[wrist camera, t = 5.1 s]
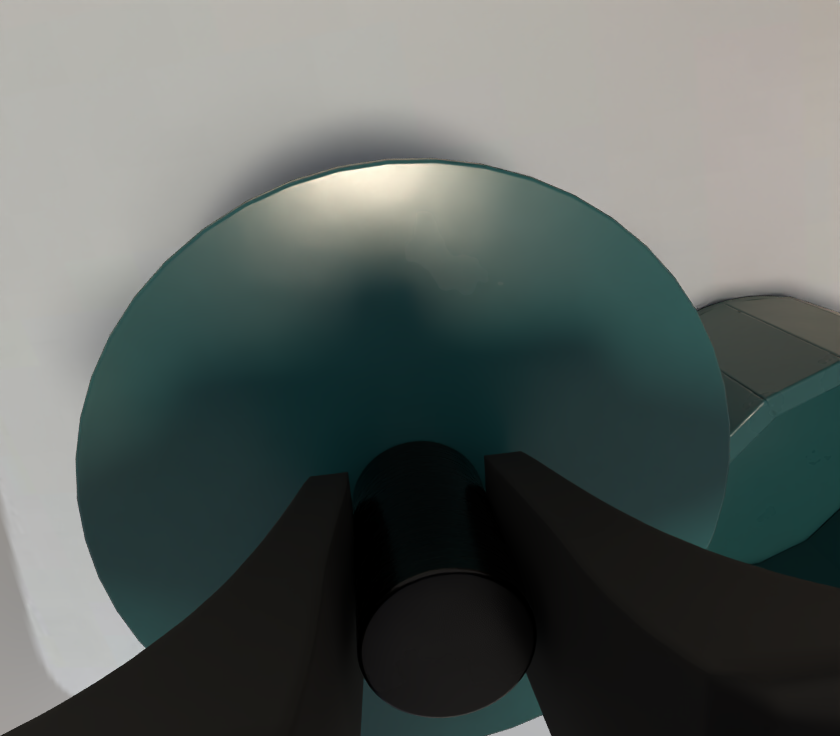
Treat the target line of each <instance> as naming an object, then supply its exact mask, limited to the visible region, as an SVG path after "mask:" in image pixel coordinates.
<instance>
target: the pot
mask: <svg viewBox="0 0 840 736" xmlns="http://www.w3.org/2000/svg"><path fill="white" fill-rule="evenodd" d="M697 312H698V314H699V316H700V319H701V321H702V323H703V325H704V327H705V329H706V332H707V334H708V336H709V338H710V340H711V342H712V345H713V347H714V350H715V353H716V357H717V360H718V364H719V367H720V370H721V374H722V377H723V381H724V384H725V391H726V398H727V405H728V412H729V419H730V462H729V469H728V476H727V483H726V490H725V497H724V500H723V504H722V507H721V511H720V514H719V518H718V522H717V525H716V529H715V532H714V534H713V537H712V539H711V541H710V544H709V546H708V548H707V550H709V551H712V552H715V553H717V554H720V555H723V556H726V557H729V558H732V559H735V560H738V561H741V562H744V563H748V564H751V565H754V566H757V567H760V568H764V569H767V570H770V571H773V572H777V573H780V574H784V575H788V576H792V577H795V578H799V579H803V580H807V581H811V582H815V583H819V584H824V585H828V586H832V587H837V588H840V313H838V312H835V311H832V310H829V309H826V308H823V307H820V306H817V305H814V304H812V303H809V302H805V301H802V300H799V299H796V298H793V297H778V296H751V297H744V298H738V299H732V300H727V301H724V302H721V303H718V304H714V305H711V306H708V307H705V308H703V309H701V310H699V311H697Z"/></svg>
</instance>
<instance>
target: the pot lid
mask: <svg viewBox="0 0 840 736" xmlns="http://www.w3.org/2000/svg"><path fill="white" fill-rule="evenodd" d="M518 451H522V452H524V453H526V454H528V455H529V456H531V457H533V458H534V459H536V460H537V461H539V462H540V463H542V464H544V465H545V466H547V467H548V468H550V469H551V470H553V471H554V472H556V473H558V474H559V475H561V476H562V477H564V478H565V479H567V480H569V481H570V482H572V483H573V484H575V485H577V486H578V487H580V488H582V489H583V490H585V491H587V492H588V493H590V494H592V495H593V496H595V497H597V498H598V499H600V500H602V501H604V502H605V503H607V504H609V505H611V506H613V507H614V508H616V509H618V510H620V511H622V512H624V513H626V514H628V515H630V516H632V517H634V518H636V519H638V520H640V521H642V522H643V523H645V524H647V525H650V526H652V527H654V528H656V529H658V530H660V531H663V532H665V533H667V534H669V535H672V536H674V537H677V538H679V539H682V540H684V541H687V542H689V543H691V544H694V545H696V546H699V547H701V548H704V549H706V550H707V548H708V546H709V544H710V541H711V539H712V537H713V534H714V532H715V529H716V525H717V522H718V518H719V514H720V511H721V507H722V504H723V500H724V497H725V490H726V483H727V476H728V469H729V462H730V419H729V412H728V405H727V398H726V391H725V384H724V381H723V377H722V374H721V370H720V367H719V364H718V360H717V357H716V353H715V350H714V347H713V345H712V342H711V340H710V338H709V336H708V334H707V332H706V329H705V327H704V325H703V323H702V321H701V319H700V316H699V314H698V312H697V310H696V309H695V307H694V306H693V304H692V303H691V301H690V300H689V298H688V297H687V295H686V294H685V292H684V291H683V289H682V288H681V286H680V285H679V283H678V282H677V280H676V278H675V277H674V276H673V275H672V274H671V273H670V271H669V270H668V269H667V268H666V267H665V266H664V265H663V264H662V263H661V261H660V260H659V259H658V258H657V257H656V256H655V255H654V254H653V253H652V251H651V250H650V249H649V248H648V247H647V246H646V245H645V244H644V243H642V242H641V241H640V240H639V239H638V238H636V237H635V236H634V235H633V234H632V233H630V232H629V231H628V230H627V229H625V228H624V227H623V226H622V225H621V224H619V223H618V222H617V221H616V220H614V219H613V218H612V217H610V216H609V215H607V214H605V213H604V212H602V211H600V210H599V209H597V208H595V207H594V206H592V205H590V204H589V203H587V202H585V201H584V200H582V199H580V198H579V197H577V196H575V195H573V194H571V193H569V192H566V191H564V190H562V189H559V188H557V187H554V186H552V185H550V184H547V183H545V182H542V181H540V180H538V179H535V178H533V177H530V176H526V175H523V174H519V173H515V172H511V171H507V170H503V169H500V168H496V167H492V166H488V165H484V164H480V163H472V162H464V161H455V160H447V159H438V158H406V159H382V160H375V161H369V162H363V163H356V164H350V165H344V166H337V167H334V168H331V169H327V170H324V171H321V172H317V173H314V174H311V175H308V176H304V177H301V178H298V179H294V180H291V181H289V182H287V183H284V184H282V185H280V186H278V187H276V188H274V189H271V190H269V191H267V192H265V193H263V194H260V195H258V196H256V197H254V198H252V199H250V200H247V201H246V202H244V203H243V204H241V205H239V206H238V207H236V208H235V209H233V210H232V211H230V212H229V213H227V214H225V215H224V216H222V217H221V218H219V219H218V220H216V221H214V222H213V223H211V224H210V225H208V226H207V227H205V228H204V229H202V230H201V231H200V232H199V233H198V234H197V235H195V236H194V237H193V238H192V239H191V240H190V241H188V242H187V243H186V244H185V245H184V246H183V247H181V248H180V249H179V250H178V251H177V252H176V253H175V254H173V255H172V256H171V257H170V258H169V259H168V260H166V261H165V262H164V263H163V265H162V266H161V267H160V268H159V269H158V270H157V271H156V273H155V274H154V275H153V276H152V277H151V278H150V280H149V281H148V282H147V283H146V284H145V285H144V286H143V288H142V289H141V290H140V291H139V292H138V293H137V294H136V296H135V297H134V298H133V300H132V301H131V303H130V304H129V306H128V308H127V309H126V311H125V312H124V314H123V315H122V317H121V319H120V320H119V322H118V323H117V325H116V326H115V328H114V330H113V331H112V333H111V334H110V336H109V338H108V340H107V343H106V345H105V347H104V349H103V352H102V354H101V356H100V358H99V360H98V363H97V365H96V367H95V369H94V372H93V374H92V376H91V380H90V384H89V387H88V391H87V395H86V398H85V402H84V406H83V409H82V413H81V417H80V424H79V433H78V441H77V450H76V483H77V501H78V506H79V512H80V517H81V522H82V527H83V532H84V537H85V541H86V544H87V547H88V549H89V552H90V555H91V558H92V560H93V563H94V566H95V569H96V572H97V574H98V577H99V579H100V581H101V583H102V584H103V586H104V588H105V590H106V592H107V594H108V596H109V598H110V599H111V601H112V603H113V605H114V607H115V609H116V610H117V612H118V613H119V615H120V616H121V617H122V619H123V620H124V621H125V623H126V624H127V626H128V627H129V628H130V630H131V631H132V632H133V634H134V635H135V636H136V638H137V639H138V641H139V642H140V643H141V644H142V645H143V646H144V647H145V648H147V647H148V646H150V645H151V644H152V643H154V642H155V641H156V640H158V639H159V638H160V637H162V636H163V635H164V634H166V633H167V632H168V631H170V630H171V629H172V628H174V627H175V626H176V625H178V624H179V623H180V622H182V621H183V620H184V619H185V618H186V617H188V616H189V615H190V614H191V613H192V612H194V611H195V610H196V609H197V608H198V607H199V606H200V605H201V604H203V603H204V602H205V601H206V600H207V599H208V598H209V597H210V596H211V595H213V594H214V593H215V592H216V591H217V590H218V589H219V588H220V587H221V586H222V585H223V584H224V583H225V582H226V581H227V580H228V579H229V578H230V577H231V576H232V575H233V574H234V573H235V572H236V571H237V569H238V568H239V567H240V566H241V565H242V564H243V563H244V562H245V560H246V559H247V558H248V557H249V556H250V555H251V554H252V553H253V551H254V550H255V549H256V548H257V547H258V545H259V544H260V543H261V542H262V540H263V539H264V538H265V537H266V535H267V534H268V533H269V531H270V530H271V529H272V528H273V526H274V525H275V524H276V522H277V521H278V520H279V518H280V517H281V516H282V514H283V513H284V512H285V510H286V509H287V507H288V506H289V505H290V503H291V502H292V500H293V499H294V497H295V496H296V494H297V493H298V491H299V490H300V488H301V487H302V486H303V484H304V483H305V482H306V481H307V479H308V478H309V477H310V476H319V475H327V474H335V473H343V472H348V475H349V483H350V491H351V499H352V506H353V514H354V546H355V557H354V565H355V603H356V640H357V659H358V663H359V667H360V670H361V672H362V675H363V677H364V680H363V699H362V718H361V736H487V735H491V734H494V733H497V732H500V731H503V730H507V729H510V728H513V727H515V726H518V725H520V724H523V723H525V722H527V721H530V720H532V719H534V718H536V717H539V716H542V715H543V714H542V711H541V709H540V706H539V704H538V702H537V699H536V697H535V694H534V692H533V689H532V687H531V684H530V682H529V679H528V677H527V674H526V671H527V669H528V668H529V666H530V664H531V661H532V658H533V656H534V652H535V647H536V642H537V628H536V621H535V618H534V614H533V611H532V609H531V606H530V604H529V601H528V599H527V596H526V594H525V591H524V588H523V586H522V583H521V581H520V578H519V576H518V573H517V571H516V568H515V565H514V563H513V560H512V558H511V555H510V553H509V550H508V548H507V545H506V543H505V540H504V537H503V535H502V532H501V530H500V528H499V525H498V522H497V520H496V517H495V515H494V512H493V510H492V507H491V505H490V502H489V500H488V497H487V494H486V484H485V466H484V456H485V455H493V454H501V453H509V452H518Z"/></svg>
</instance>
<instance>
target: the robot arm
mask: <svg viewBox="0 0 840 736" xmlns="http://www.w3.org/2000/svg"><path fill="white" fill-rule="evenodd" d="M484 466H485V484H486V494H487V497H488V500H489V502H490V505H491V507H492V510H493V512H494V515H495V517H496V520H497V522H498V525H499V528H500V530H501V532H502V535H503V537H504V540H505V543H506V545H507V548H508V550H509V553H510V555H511V558H512V560H513V563H514V565H515V568H516V571H517V573H518V576H519V578H520V581H521V583H522V586H523V588H524V591H525V594H526V596H527V599H528V601H529V604H530V606H531V609H532V611H533V614H534V618H535V621H536V628H537V642H536V647H535V652H534V656H533V658H532V661H531V664H530V666H529V668H528V669H527V671H526V674H527V677H528V679H529V682H530V684H531V687H532V689H533V692H534V694H535V697H536V699H537V702H538V704H539V706H540V709H541V711H542V714H543V716H544V719H545V721H546V724H547V726H548V728H549V731H550V733H551V736H840V588H837V587H832V586H828V585H824V584H819V583H815V582H811V581H807V580H803V579H799V578H795V577H792V576H788V575H784V574H780V573H777V572H773V571H770V570H767V569H764V568H760V567H757V566H754V565H751V564H748V563H744V562H741V561H738V560H735V559H732V558H729V557H726V556H723V555H720V554H717V553H715V552H712V551H709V550H706V549H704V548H701V547H699V546H696V545H694V544H691V543H689V542H687V541H684V540H682V539H679V538H677V537H674V536H672V535H669V534H667V533H665V532H663V531H660V530H658V529H656V528H654V527H652V526H650V525H647V524H645V523H643V522H642V521H640V520H638V519H636V518H634V517H632V516H630V515H628V514H626V513H624V512H622V511H620V510H618V509H616V508H614V507H613V506H611V505H609V504H607V503H605V502H604V501H602V500H600V499H598V498H597V497H595V496H593V495H592V494H590V493H588V492H587V491H585V490H583V489H582V488H580V487H578V486H577V485H575V484H573V483H572V482H570V481H569V480H567V479H565V478H564V477H562V476H561V475H559V474H558V473H556V472H554V471H553V470H551V469H550V468H548V467H547V466H545V465H544V464H542V463H540V462H539V461H537V460H536V459H534V458H533V457H531V456H529V455H528V454H526V453H524V452H522V451H518V452H509V453H501V454H493V455H485V456H484ZM354 557H355V546H354V514H353V506H352V499H351V491H350V483H349V475H348V472H343V473H335V474H327V475H319V476H310V477H309V478H308V479H307V481H306V482H305V483H304V484H303V486H302V487H301V488H300V490H299V491H298V493H297V494H296V496H295V497H294V499H293V500H292V502H291V503H290V505H289V506H288V507H287V509H286V510H285V512H284V513H283V514H282V516H281V517H280V518H279V520H278V521H277V522H276V524H275V525H274V526H273V528H272V529H271V530H270V531H269V533H268V534H267V535H266V537H265V538H264V539H263V540H262V542H261V543H260V544H259V545H258V547H257V548H256V549H255V550H254V551H253V553H252V554H251V555H250V556H249V557H248V558H247V559H246V560H245V562H244V563H243V564H242V565H241V566H240V567H239V568H238V569H237V571H236V572H235V573H234V574H233V575H232V576H231V577H230V578H229V579H228V580H227V581H226V582H225V583H224V584H223V585H222V586H221V587H220V588H219V589H218V590H217V591H216V592H215V593H214V594H213V595H211V596H210V597H209V598H208V599H207V600H206V601H205V602H204V603H203V604H201V605H200V606H199V607H198V608H197V609H196V610H195V611H194V612H192V613H191V614H190V615H189V616H188V617H186V618H185V619H184V620H183V621H182V622H180V623H179V624H178V625H176V626H175V627H174V628H172V629H171V630H170V631H168V632H167V633H166V634H164V635H163V636H162V637H160V638H159V639H158V640H156V641H155V642H154V643H152V644H151V645H150V646H148V647H147V648H146V649H144V650H143V651H142V652H140V653H139V654H138V655H136V656H135V657H134V658H132V659H131V660H129V661H128V662H126V663H125V664H123V665H122V666H120V667H119V668H117V669H116V670H114V671H113V672H111V673H110V674H108V675H107V676H105V677H104V678H102V679H101V680H99V681H97V682H96V683H94V684H93V685H91V686H89V687H88V688H86V689H84V690H83V691H81V692H79V693H78V694H76V695H74V696H73V697H71V698H69V699H68V700H66V701H64V702H63V703H61V704H59V705H57V706H56V707H54V708H52V709H51V710H49V711H47V712H45V713H43V714H41V715H40V716H38V717H36V718H34V719H32V720H30V721H28V722H26V723H24V724H22V725H20V726H18V727H16V728H14V729H13V730H11V731H9V732H7V733H5V734H3V735H1V736H361V718H362V699H363V680H364V677H363V675H362V672H361V670H360V667H359V663H358V659H357V640H356V603H355V565H354Z"/></svg>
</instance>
